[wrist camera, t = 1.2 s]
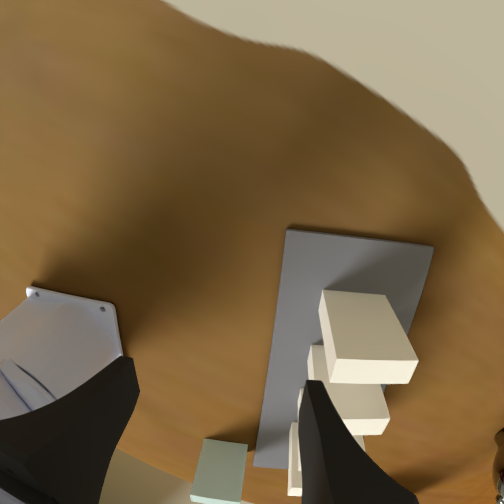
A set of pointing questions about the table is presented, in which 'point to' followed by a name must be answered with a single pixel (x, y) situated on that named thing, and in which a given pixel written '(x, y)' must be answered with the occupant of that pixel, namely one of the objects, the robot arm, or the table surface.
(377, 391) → the tile
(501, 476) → the piggy bank
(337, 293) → the tile
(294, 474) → the tile
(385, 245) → the runner mat
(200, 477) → the pale green tile
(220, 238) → the table surface
